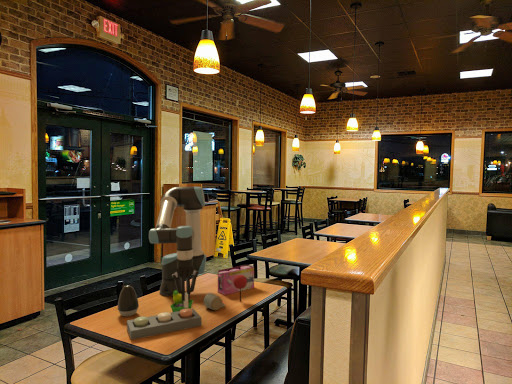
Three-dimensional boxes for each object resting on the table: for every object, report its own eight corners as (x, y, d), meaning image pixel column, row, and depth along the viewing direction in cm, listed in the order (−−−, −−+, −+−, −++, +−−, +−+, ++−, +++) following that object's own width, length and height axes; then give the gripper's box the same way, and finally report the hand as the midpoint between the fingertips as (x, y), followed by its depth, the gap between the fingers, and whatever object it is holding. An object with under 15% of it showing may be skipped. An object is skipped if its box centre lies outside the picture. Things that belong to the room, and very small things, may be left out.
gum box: (222, 296, 216) (222, 273, 216) (215, 292, 222) (215, 270, 222) (254, 287, 231) (254, 266, 230) (247, 285, 237) (246, 264, 236)
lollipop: (245, 304, 202) (244, 277, 201) (231, 303, 204) (231, 276, 203) (249, 299, 209) (248, 273, 208) (236, 298, 211) (235, 272, 210)
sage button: (133, 323, 169) (133, 318, 169) (146, 320, 172) (146, 315, 171) (135, 328, 164) (135, 322, 163) (149, 325, 166) (149, 320, 166)
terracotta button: (178, 314, 178) (178, 309, 178) (190, 312, 181) (190, 307, 181) (181, 319, 173) (181, 314, 173) (194, 316, 176) (194, 311, 175)
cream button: (156, 319, 174) (156, 313, 173) (169, 316, 176) (169, 311, 176) (159, 323, 168) (159, 318, 168) (172, 321, 171) (172, 315, 171)
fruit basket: (182, 317, 184) (182, 295, 184) (167, 315, 187) (167, 293, 187) (194, 309, 195) (193, 288, 194) (179, 307, 198) (179, 287, 197)
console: (127, 329, 171) (126, 320, 171) (193, 316, 185) (193, 308, 185) (131, 340, 159) (130, 331, 159) (201, 325, 174) (201, 317, 174)
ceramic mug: (211, 312, 190) (211, 298, 190) (203, 308, 196) (203, 294, 196) (228, 308, 197) (228, 293, 196) (219, 304, 203) (219, 290, 203)
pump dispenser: (133, 309, 196) (132, 281, 195) (142, 314, 189) (141, 285, 188) (114, 314, 189) (113, 285, 188) (123, 320, 182) (122, 290, 181)
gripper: (173, 261, 169) (174, 311, 170) (200, 258, 175) (201, 307, 176) (169, 258, 176) (170, 306, 177) (195, 255, 182) (196, 302, 183)
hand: (186, 306), depth 176 cm, fingers closed
